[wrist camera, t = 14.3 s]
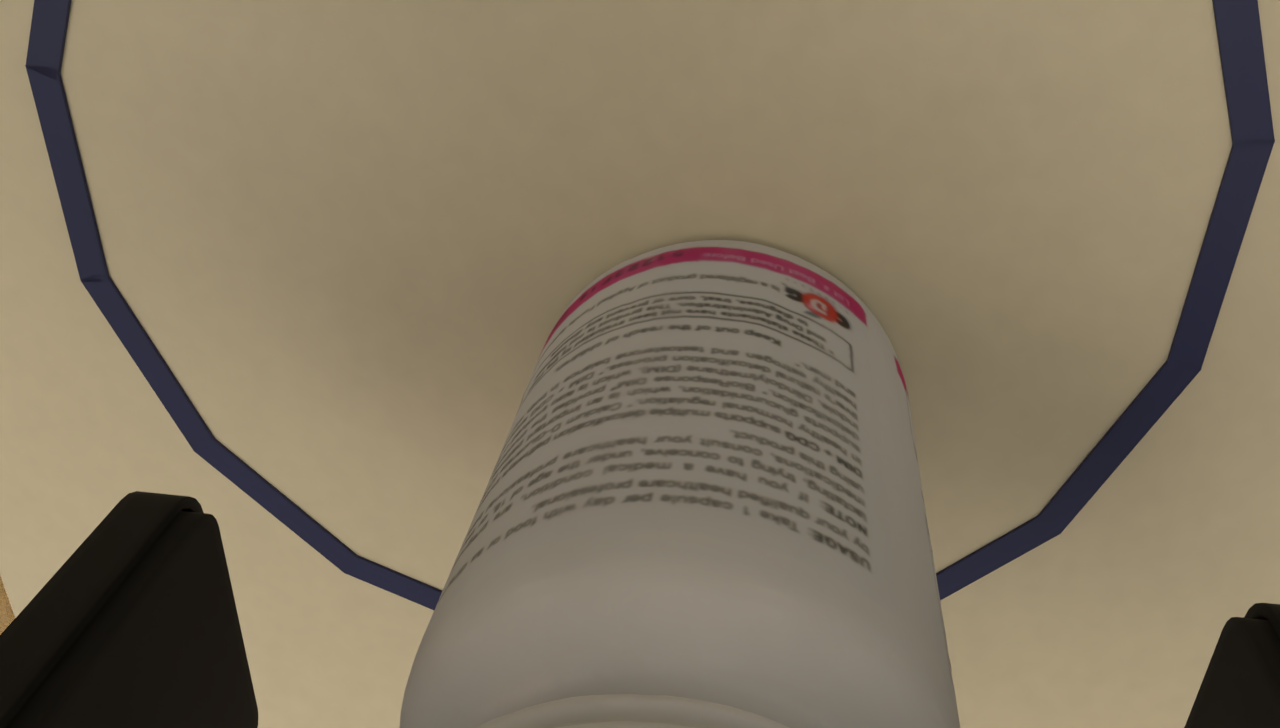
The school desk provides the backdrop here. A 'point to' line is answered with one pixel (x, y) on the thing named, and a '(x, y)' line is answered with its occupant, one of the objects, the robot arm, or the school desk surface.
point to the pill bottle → (698, 519)
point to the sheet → (618, 231)
